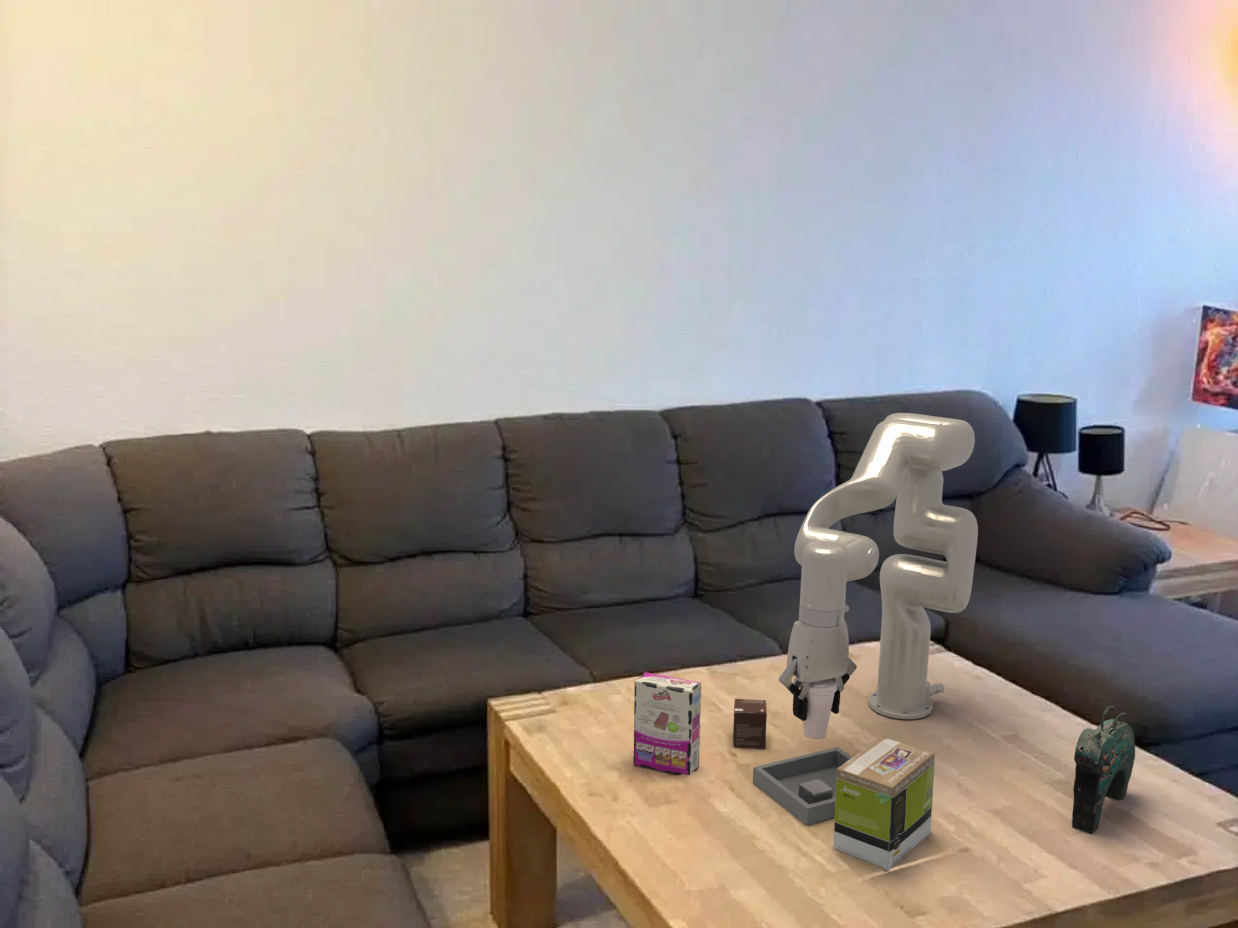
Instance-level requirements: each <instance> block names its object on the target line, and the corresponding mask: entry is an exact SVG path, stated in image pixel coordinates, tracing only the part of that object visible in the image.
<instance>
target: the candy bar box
mask: <svg viewBox="0 0 1238 928" xmlns="http://www.w3.org/2000/svg"><path fill="white" fill-rule="evenodd" d="M701 693H702V682H700V681H696V680H695V681H694V680H688V679H684V678H678V677H674V676H673V677H672V676H667V675H663V674H656V673H651V672H646V671H645V672H644V673H642V675H640V676H639V677H638V678H637V679H636V680H635V681H634V694H633V695H634V707H633V709H634V710H633V711H634V714H633V715H634V717H633V720H634V721H633V757H632V758H633V760H632V761H633V765H634V766H635V767H641V768H644V769H650V770H655V771H657V772H664V773H668V774H672V775H677V776H682V775H685V776H691V774H692V773H694V772H696V771H698V768H699V767H700V745H701V744H700V740H701V738H700V737H701V736H700V734H701V704H702V703H701V702H702V701H701V699H702V694H701Z"/></svg>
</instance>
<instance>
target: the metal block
mask: <svg viewBox="0 0 1238 928" xmlns="http://www.w3.org/2000/svg"><path fill="white" fill-rule="evenodd" d="M798 796H799V797H800V798H801V799H802V800H804V801H805V802H806V803H808V804H813V803H817V802H821V801H824V800H828V799H832V798H833V789H832V788H831V787H829V786H828V785H826V784H825V783H824V782H822V781H821V780H820V779H816V780H812V781H808V782H804V783H800V784H799V795H798Z"/></svg>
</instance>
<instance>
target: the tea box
mask: <svg viewBox="0 0 1238 928" xmlns="http://www.w3.org/2000/svg"><path fill="white" fill-rule="evenodd" d="M935 757H936V753H935V752H933V751H929V750H928V749H927V750H926V749H924V748H919V747H916V746H912V745H909V744H906V743H904V742H900V741H897V740H893V739H889V738H886V737H884V736H883V735H882V736H880V737H878V738H877V739H876V740H874V741H872V742H871V743H870V744H869V745H867V746H866V747H865V748H863V749H862V750H861V751H859V752H858V753H856V754H855V755H854V756H852V758H851V759H849V760H848V761H847V762H845V763H844V764H843V765H842V766H840V767H838V768H837V775H836V796H835V818H833V819H834V820H833V821H834V822H833V823H834V825H833V826H834V827H833V847H832V848H833V849H835V850H837V851H841V852H843V853H845V854H848V855H850V856H853V857H856V858H858V859H860V860H863V861H865V862H867V863H871V864H874V865H875V866H878V867H880V868H883V871H885V872H889V871H891V869H892V868H893V866H894V865H896V863H898V861H900V860H901V859H903V858H904V857H905V856H906V855H907V854H908V853H909V852H910V851H912V850H913V848H915V847H916V846H917V845H919V844H920V843H921V842H922V841H923V840H924V839H926V837H928V836H929V835H930V834H931V831H932V810H933V794H934V776H935Z"/></svg>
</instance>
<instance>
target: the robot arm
mask: <svg viewBox="0 0 1238 928" xmlns="http://www.w3.org/2000/svg"><path fill="white" fill-rule="evenodd" d="M975 438H976V435H975V431H974V429H973V427H972V425H971V424H970V423H969V422H967V421H965V420H963V419H956V418H949V417H943V416H933V415H927V414H920V413H911V412H905V413H904V412H895V413H891V414H889V415H888V416H886V417H885V418H884V420H883V421H881V422H879V423H878V424H877V425H876V426H875V428H874V430H873V431H872V433H871V436H870V438H869V440H868V442H867V444H866V446H865V448H864V450H863V453H862V455H861V457H860V459H859V461H858V463H857V466H856V467H855V470H854V472H853V474H852V476H851V478H850V479H849V480H847V481H845V482H844V483H841V484H839V485H838V486H836V487H834V488H832V489H831V490H829V491H828V492H827V493H826V494H824V495H822V496H821V497H820V498H819V499H817V500H816V501H815V502H814V503H813V504H812V506H811V507H810V509H809V510H808V512H807V514H806V516H805V518H804V520H803V522H802V523H801V526H800V528H799V531H798V534H797V535H796V538H795V542H794V550H793V553H794V557H795V560H796V562H797V563H798V564H799V565H800V566H801V572H800V573H801V574H800V575H801V576H800V577H801V578H800V593H799V594H800V596H799V612H798V620H796V621H794V623H793V626H792V628H791V633H790V637H789V643H788V649H787V650H788V651H787V656H786V657H787V658H786V668H785V669H784V670H783V672H782V673H781V674H780V676H779V677H778V681H779V683H781V684H782V685H783V686H784V687H785V688H786V689H787V690H788V691H789V692H790V695H791V694H792V695H793V697H792V714H793V716H794V717H796V718H797V719H799V720H800V721H802V722H803V721H806V719H807V708H808V699H807V698H805V696H806V693H807V691H808V688H809V685H810V683H813V682H818V681H823V680H828V679H833V680H834V681H835V682H837V691H836V692H835V693H834V699H833V703H832V708H831V712H832V713H833V714H834V715H837V714H838V715H839V713H840V704H841V693H842V692H843V691H844V690H845V685H846V684H847V682H848V681H849V680H850V677H851V676H852V675H853V674H854V672H855V671H856V670H857V668H858V665H857V664H856V663H855V662H854V661H853V660H852V659H851V658H850V645H849V632H848V625H847V621H846V620H845V613H846V612H847V613H848V612H849V611H850V607H849V605H848V604H847V603H846V599H847V597H846V596H847V595H846V592H847V582H852V581H857V580H861V579H864V578H866V577H868V576H870V574H872V573H873V572H874V571H875V569H876V567H877V566H878V563H879V559H880V549H879V547H878V545H877V543H876V541H874V539H872V538H870V537H869V536H866V535H862V534H859V533H858V534H857V533H852V532H846V531H842V530H838V529H833V528H830V527H831V526H833V525H834V524H835V523H837V522H838V521H841V520H842V519H846V518H848V517H852V516H855V515H858V514H863V513H864V514H865V513H869V512H873V511H877V510H881V509H883V508H887V507H889V506H891V505H892V504H893V503H894V501H895V500H896V502H895V509H894V519H893V537H894V541H895V542H896V543H897V544H898V545H900V546H902V547H904V548H908V549H912V550H917V551H922V552H926V553H930V554H937V555H942V556H944V557H945V558H946V559H945V560H946V561H944V560H938V559H933V558H930V557H925V556H920V555H914V554H906V553H899V554H893V555H890V556H889V557H887V558H886V559H885V560H884V561H883V563H882V565H881V567H880V570H879V571H880V572H879V584H880V585H879V586H880V594H881V610H882V611H881V628H880V641H879V656H878V657H879V659H878V671H877V672H878V673H877V686H876V688H877V689H876V691H874V692H872V693H871V694H870V695H869V697H868V706H869V707H870V708H871V710H873V712H876V713H877V714H879V715H882V716H884V717H887V718H891V719H897V720H918V719H923V718H925V717H928V716H929V715H930V714H932V713H933V709H934V708H933V707H934V704H933V702H932V700H931V699H930V697H933V696H934V695H938V694H942V693H944V692H945V686H944V684H943V683H940V682H939V683H935V684H932V685H931V682H930V681H929V680H927V679H928V669H929V657H930V655H929V654H930V644H931V643H930V641H931V633H932V632H931V630H932V629H931V621H930V618H929V615H928V614H927V612H926V610H925V609H931V610H934V611H935V610H936V611H940V612H944V613H952V614H954V613H955V614H956V613H957V614H958V613H961V612H962V611H964V610H965V609H966V608H967V606H968V604H969V601H970V598H971V594H972V590H973V589H972V587H973V580H974V570H975V564H976V555H977V546H978V536H979V526H978V520H977V518H976V516H975V515H974V513H973V512H972V511H971V510H968V509H967V508H963V507H959V506H953V505H948V504H944V503H943V491H944V490H943V487H944V475H943V472H945V471H949V470H952V469H954V468H957V467H960V466H962V465H964V464H965V463H967V461H968V460H969V459H970V457H971V455H972V454H973V450H974V448H975V444H976V443H975V442H976V440H975ZM793 677H794V680H793V681H792V679H793ZM801 683H803V684H802V685H801V688H800V684H801Z"/></svg>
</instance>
